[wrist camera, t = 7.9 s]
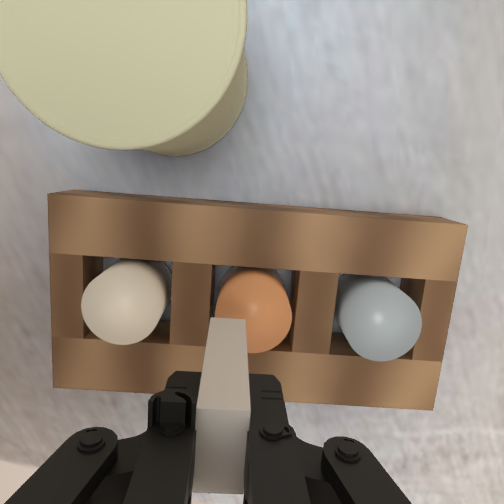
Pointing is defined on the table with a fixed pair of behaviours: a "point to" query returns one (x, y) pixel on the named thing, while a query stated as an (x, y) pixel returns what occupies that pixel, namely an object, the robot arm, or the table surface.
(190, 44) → the can
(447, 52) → the table surface
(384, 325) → the blue-grey egg
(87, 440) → the robot arm
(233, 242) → the wooden egg holder
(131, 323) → the white egg
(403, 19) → the table surface
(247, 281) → the orange egg
